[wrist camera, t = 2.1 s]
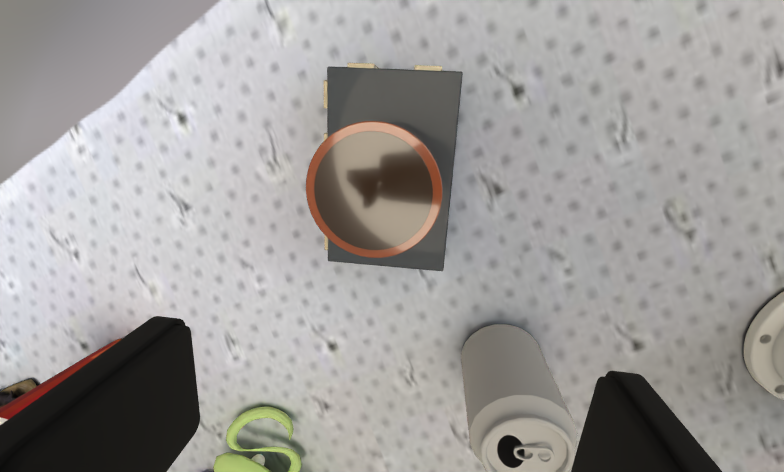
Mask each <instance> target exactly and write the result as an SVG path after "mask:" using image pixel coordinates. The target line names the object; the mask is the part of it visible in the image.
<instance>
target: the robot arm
mask: <svg viewBox="0 0 784 472" xmlns="http://www.w3.org/2000/svg"><path fill="white" fill-rule="evenodd" d="M743 348H744V360H745V363H746V366H747V369H748V371H749V372H750V374H751V376H752V377H753V379H754V380H755V381H757V382H758V383H759V384H760V385H761V386H762V387H763V388H764V389H766V390H767V391H768V392H769V393H771V394H772V395H774V396H776V397H778V398H780V399H782V400H784V291H783V292H782V293H780V294H779V295H778V296H776V297H775V298H774V299H772V300H771V301H770V302H769V303H768V304H767V305H766V306H765V307H764V308H763V309H762V310H761V311H760V312H759V313H758V314H757V316H756V317H755V319H754V320H753V322H752V323H751V325H750V327H749V329H748V332H747V334H746V337H745V342H744V347H743ZM199 422H200V412H199V402H198V393H197V384H196V375H195V365H194V356H193V347H192V337H191V331H190V328H189V327H187V326H185V323H184V321H183V320H181V319H177V318H169V317H160V316H156V317H153V318H151V319H149V320H148V321H147V322H145V323H144V324H142V325H141V326H140V327H138V328H137V329H135V330H134V331H132V332H131V333H130V334H128V335H127V336H125V337H124V338H123V339H121V340H120V341H118V342H117V343H116V344H114V345H113V346H111V347H110V348H108V349H107V350H106V351H104V352H103V353H101V354H100V355H99V356H97V357H96V358H94V359H93V360H92V361H90V362H89V363H87V364H86V365H84V366H83V367H82V368H80V369H79V370H77V371H76V372H75V373H73V374H72V375H70V376H69V377H68V378H66V379H65V380H63V381H62V382H60V383H59V384H58V385H56V386H55V387H53V388H52V389H51V390H49V391H48V392H46V393H45V394H44V395H42V396H41V397H39V398H38V399H37V400H35V401H34V402H32V403H31V404H29V405H28V406H27V407H25V408H24V409H22V410H21V411H20V412H18V413H17V414H15V415H14V416H13V417H11V418H10V419H8V420H7V421H5V422H4V423H3V424H1V425H0V472H166V471H167V470H168V469H169V467H170V466H171V465H172V463H173V462H174V461H175V459H176V458H177V457H178V455H179V454H180V453H181V451H182V450H183V449H184V447H185V446H186V445H187V443H188V442H189V441H190V439H191V438H192V437H193V435H194V434H195V432H196V430H197V428H198V425H199ZM571 472H722V471H721V470H720V468H719V467H718V466H717V465H716V464H715V462H714V461H713V460H712V459H711V458H710V456H709V455H708V454H707V453H706V452H705V450H704V449H703V448H702V447H701V446H700V444H699V443H698V442H697V441H696V440H695V438H694V437H693V436H692V435H691V434H690V432H689V431H688V430H687V429H686V428H685V426H684V425H683V424H682V423H681V422H680V420H679V419H678V418H677V417H676V416H675V414H674V413H673V412H672V411H671V410H670V408H669V407H668V406H667V405H666V404H665V402H664V401H663V400H662V399H661V397H660V396H659V395H658V394H657V393H656V391H655V390H654V389H653V388H652V387H651V385H650V384H649V383H648V382H647V381H646V379H645V378H644V377H642V376H641V375H639V374H634V373H626V372H617V371H609V372H608V373H607V374H606V376H605V377H600V378H599V379H598V381H597V383H596V387H595V390H594V394H593V397H592V401H591V404H590V407H589V411H588V414H587V418H586V421H585V425H584V428H583V432H582V435H581V438H580V442H579V445H578V449H577V452H576V456H575V459H574V463H573V466H572V470H571Z"/></svg>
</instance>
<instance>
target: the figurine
mask: <svg viewBox="0 0 784 472" xmlns="http://www.w3.org/2000/svg"><path fill="white" fill-rule="evenodd" d="M260 418H272V419H274V420H277V421H279V422H280V423H281V424H283V425H284V426H285V428H286V429H287V430H288V433H289V441H290V439H291V436H292V434H293V424H292V420H291V419H290V418H289V417H288V416H287V415H286V414H285V413H284V412H282V411H280V410H279V409H276V408H273V407H258V408H255V409H251V410H249V411H246V412H244V413H242V414H241V415H240V416H239V417H238V418H236V419H235V420H234V421H233V423H232V424H231V426H230V427H229V429H228V430H227V436H226V441H227V443H228V445H229V446H230V448H231V449H234V450H238V451H269V452H280V453H284V454H286V455H287V456H289V458H290V461H291V466H290V469H289V471H288V472H299V471H300V468H301V465H302V464H301V460H300V456H299V454H297V453H296V452H295V451H294V450H292V449H288V448H283V447H264V448H258V449H251V450H249V449H242V448H241V447H240V446H239V445H238V444H237V434H238V432H239V431H240V429H241V428H242V427H243V426H244V425H245V424H246V423H248V422H250V421H253V420H256V419H260ZM264 463H265V458H264V456H263V455H262V454H257V455H255V456H253V457H252V459H249V458H247V457H245V456H243V455H238V454H232V453H224V454H222V455H220V456H217V457H216V460H215V464H214V467H213V468H214V472H271V471H270V470H268V469H267V468H266V467H264Z"/></svg>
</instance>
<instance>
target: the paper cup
mask: <svg viewBox="0 0 784 472" xmlns="http://www.w3.org/2000/svg"><path fill="white" fill-rule="evenodd" d="M120 340H121V339H118V340H116V341H114V342H112V343H110V344H108V345H106V346H105V347H103V348H101V349H99V350H98V351H96V352H94V353H92V354H91V355H89V356H87V357H86V358H84V359H82V360H80V361H79V362H77V363H75V364H74V365H72V366H70V367H69V368H67V369H65V370H64V371H62V372H60V373H59V374H57V375H55V376H54V377H52V378H50V379H48V380H47V381H45V382H43V383H42V384H40V385H38V386H37V387H35V388H33V389H32V390H30V391H28V392H27V393H25V394H23V395H22V396H20V397H18V398H17V399H15V400H13V401H12V402H10V403H8V404H7V405H5V406H3V407H2V408H0V425H1V424H3V423H4V422H5V421H7V420H8V419H10V418H11V417H13V416H14V415H15V414H17V413H18V412H20V411H21V410H22V409H24V408H25V407H27V406H28V405H29V404H31V403H32V402H34V401H35V400H37V399H38V398H39V397H41V396H42V395H44V394H45V393H46V392H48V391H49V390H51V389H52V388H53V387H55V386H56V385H58V384H59V383H60V382H62V381H63V380H65V379H66V378H68V377H69V376H70V375H72V374H73V373H75V372H76V371H77V370H79V369H80V368H82V367H83V366H84V365H86V364H87V363H89V362H90V361H92V360H93V359H94V358H96V357H97V356H99V355H100V354H101V353H103V352H104V351H106V350H107V349H108V348H110V347H111V346H113V345H114V344H116V343H117V342H118V341H120Z"/></svg>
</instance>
